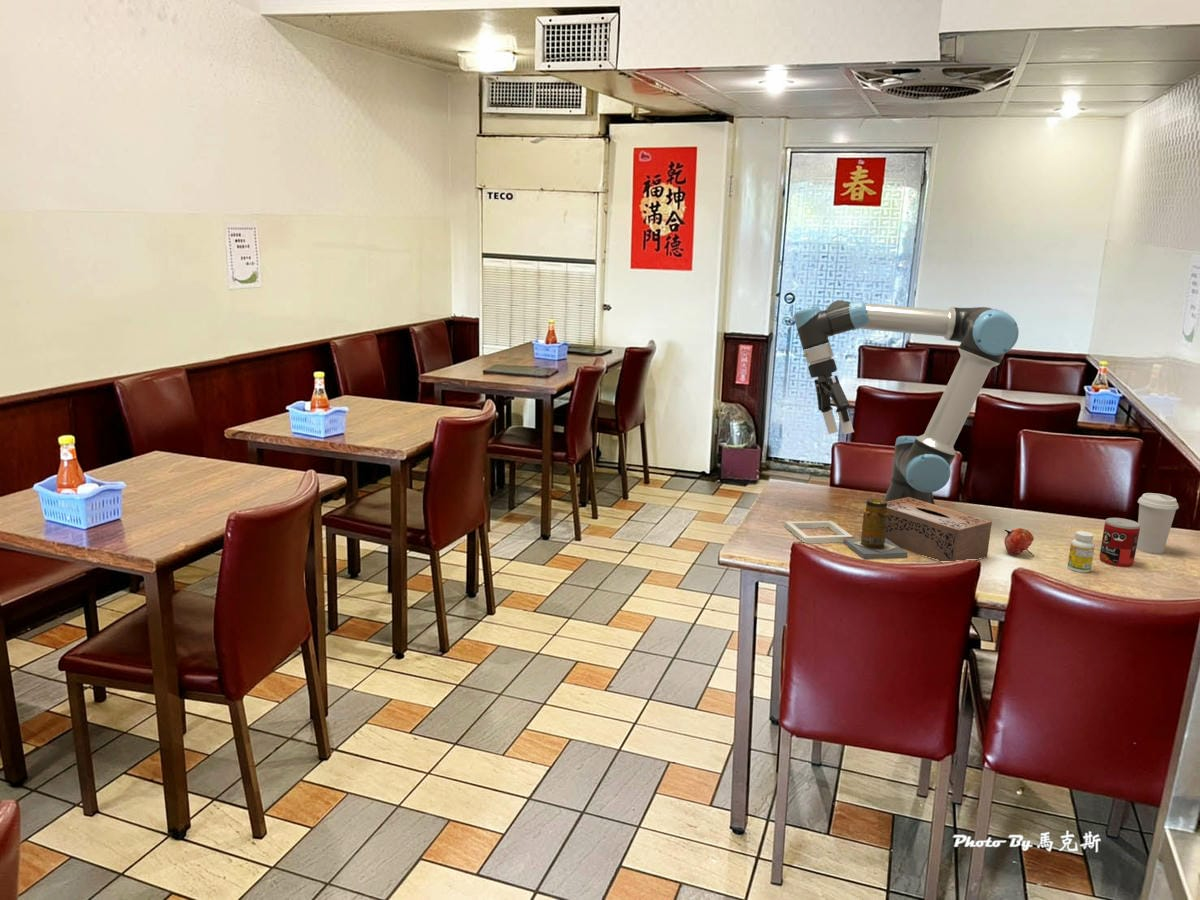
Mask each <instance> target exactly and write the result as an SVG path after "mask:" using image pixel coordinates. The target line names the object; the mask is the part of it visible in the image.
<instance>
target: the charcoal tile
mask: <svg viewBox="0 0 1200 900" xmlns="http://www.w3.org/2000/svg"><path fill="white" fill-rule="evenodd" d="M859 541H861V537H856V538H854V537H853V539H844V542H843V545H844V546H846V547H847V548H849V549H850V550H851V551H853V552H854V553H855V554H857V555H858V556H859V557H861V558H862V559H863V558H864V559H863V560H874V559H873V558H884V559H906V558H908V552H907V550H905V549H902V548H900V547H899V546H897V545H896V544H894V543H893V542H891V541H890V540H888V539H887V538H885V543H886V544H889V545H892V546H895V548H892V549H890V550H887V551H882V552H880V551H877V550H873V549H870V548H867V547H863V546H861V545H857V544H855V542H859Z"/></svg>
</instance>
